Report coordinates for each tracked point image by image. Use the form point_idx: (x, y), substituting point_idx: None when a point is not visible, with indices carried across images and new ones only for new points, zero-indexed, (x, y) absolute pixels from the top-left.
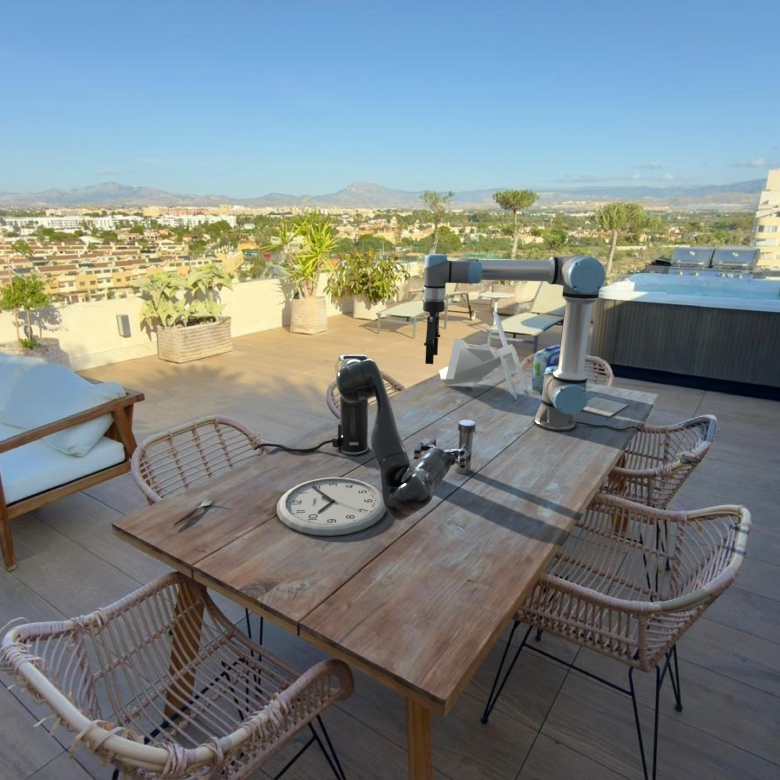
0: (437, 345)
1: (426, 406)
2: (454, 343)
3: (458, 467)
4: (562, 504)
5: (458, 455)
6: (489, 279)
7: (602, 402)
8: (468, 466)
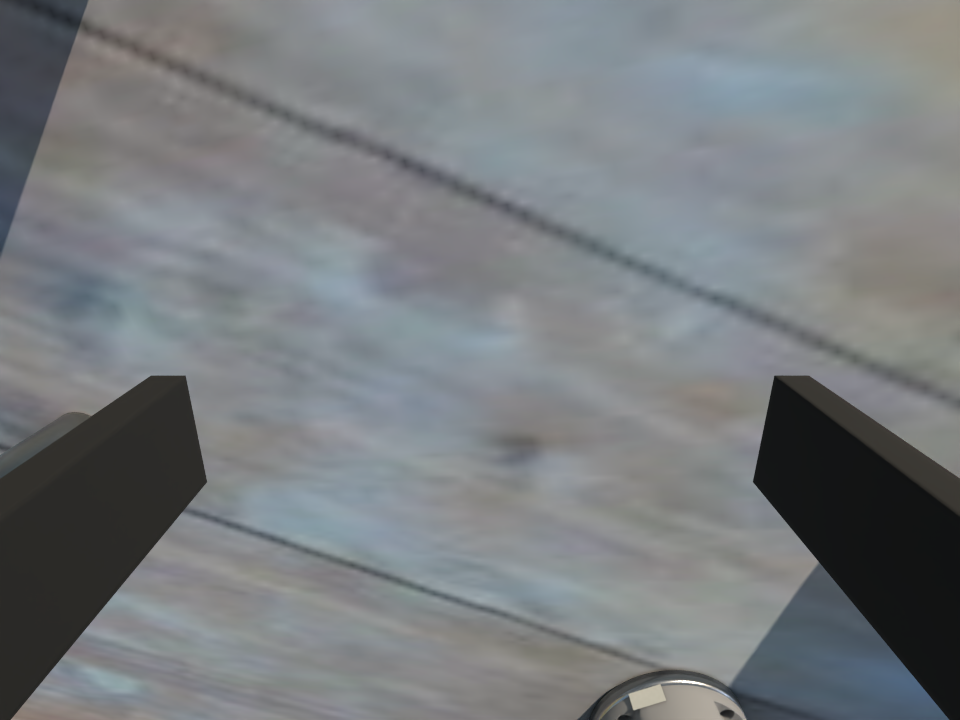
0: (854, 599)
1: (892, 177)
2: None
3: (47, 425)
4: None
5: (11, 448)
6: None
7: None
8: None
